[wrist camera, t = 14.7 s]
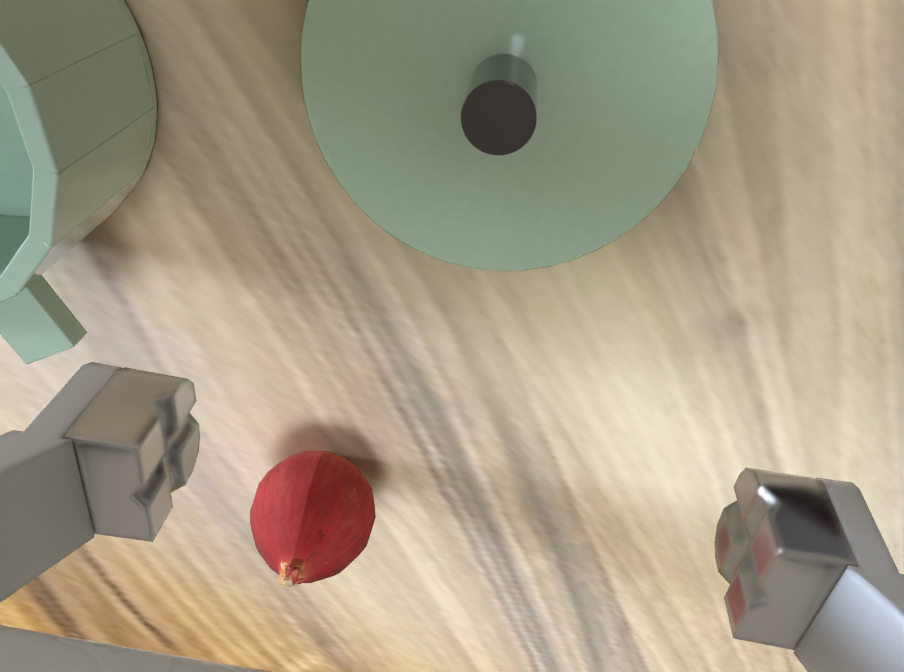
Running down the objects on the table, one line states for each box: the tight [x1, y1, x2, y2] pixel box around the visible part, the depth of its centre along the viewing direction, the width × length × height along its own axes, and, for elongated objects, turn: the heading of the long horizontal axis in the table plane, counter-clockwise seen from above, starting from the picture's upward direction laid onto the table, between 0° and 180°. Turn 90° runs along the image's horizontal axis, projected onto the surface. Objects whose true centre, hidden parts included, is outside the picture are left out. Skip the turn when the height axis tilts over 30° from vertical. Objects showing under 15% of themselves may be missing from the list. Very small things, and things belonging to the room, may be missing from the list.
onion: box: [250, 451, 375, 587], centre depth 36 cm, size 6×6×8 cm
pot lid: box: [300, 0, 719, 271], centre depth 26 cm, size 15×15×5 cm
